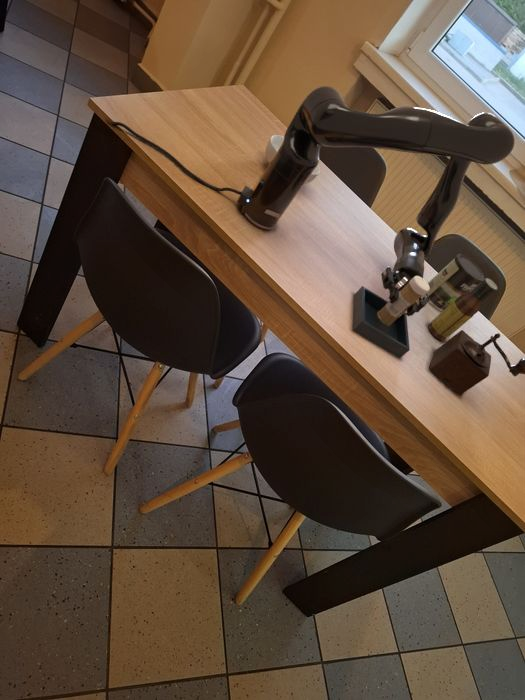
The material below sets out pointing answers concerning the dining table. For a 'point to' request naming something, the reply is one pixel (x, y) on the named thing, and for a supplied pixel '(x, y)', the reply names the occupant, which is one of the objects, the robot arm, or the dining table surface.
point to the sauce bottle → (461, 310)
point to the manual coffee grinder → (467, 362)
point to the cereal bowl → (274, 147)
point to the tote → (379, 324)
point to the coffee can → (453, 282)
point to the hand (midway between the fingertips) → (402, 306)
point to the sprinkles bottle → (403, 300)
